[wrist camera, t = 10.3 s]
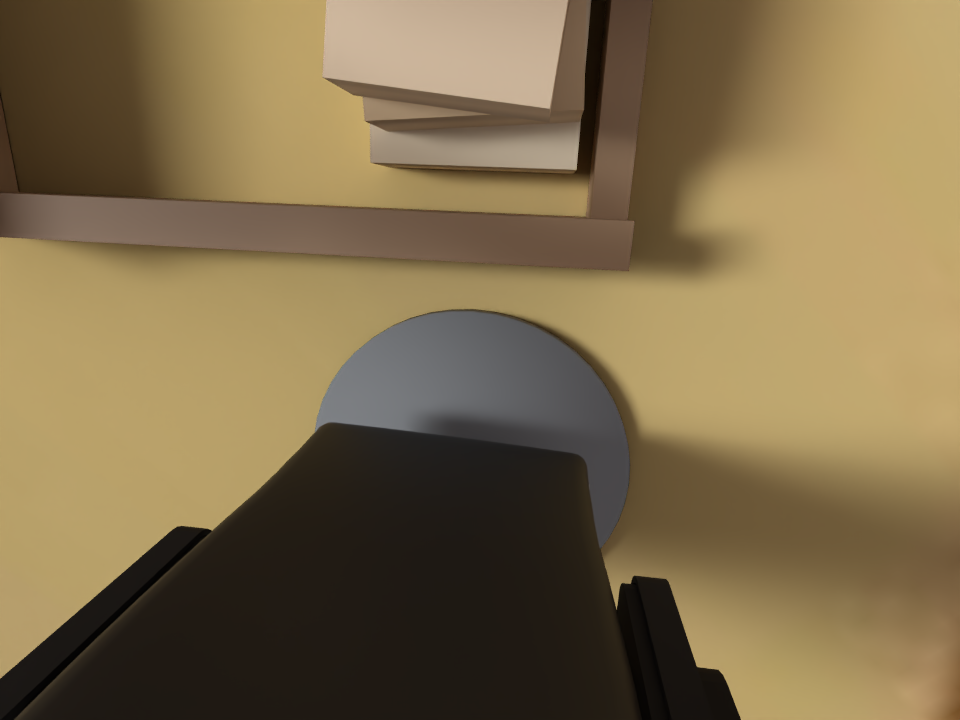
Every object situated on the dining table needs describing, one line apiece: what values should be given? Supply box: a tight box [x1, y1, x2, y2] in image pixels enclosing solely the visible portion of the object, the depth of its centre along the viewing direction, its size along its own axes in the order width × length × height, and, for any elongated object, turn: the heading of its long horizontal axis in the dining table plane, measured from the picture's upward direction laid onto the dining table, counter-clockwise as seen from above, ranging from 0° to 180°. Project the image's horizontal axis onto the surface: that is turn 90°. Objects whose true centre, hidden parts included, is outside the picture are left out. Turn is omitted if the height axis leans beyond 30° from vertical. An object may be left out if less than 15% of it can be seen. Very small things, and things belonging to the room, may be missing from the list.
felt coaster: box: [315, 309, 630, 549], centre depth 15 cm, size 9×9×1 cm
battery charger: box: [14, 422, 642, 720], centre depth 8 cm, size 7×4×11 cm, turn 85°
